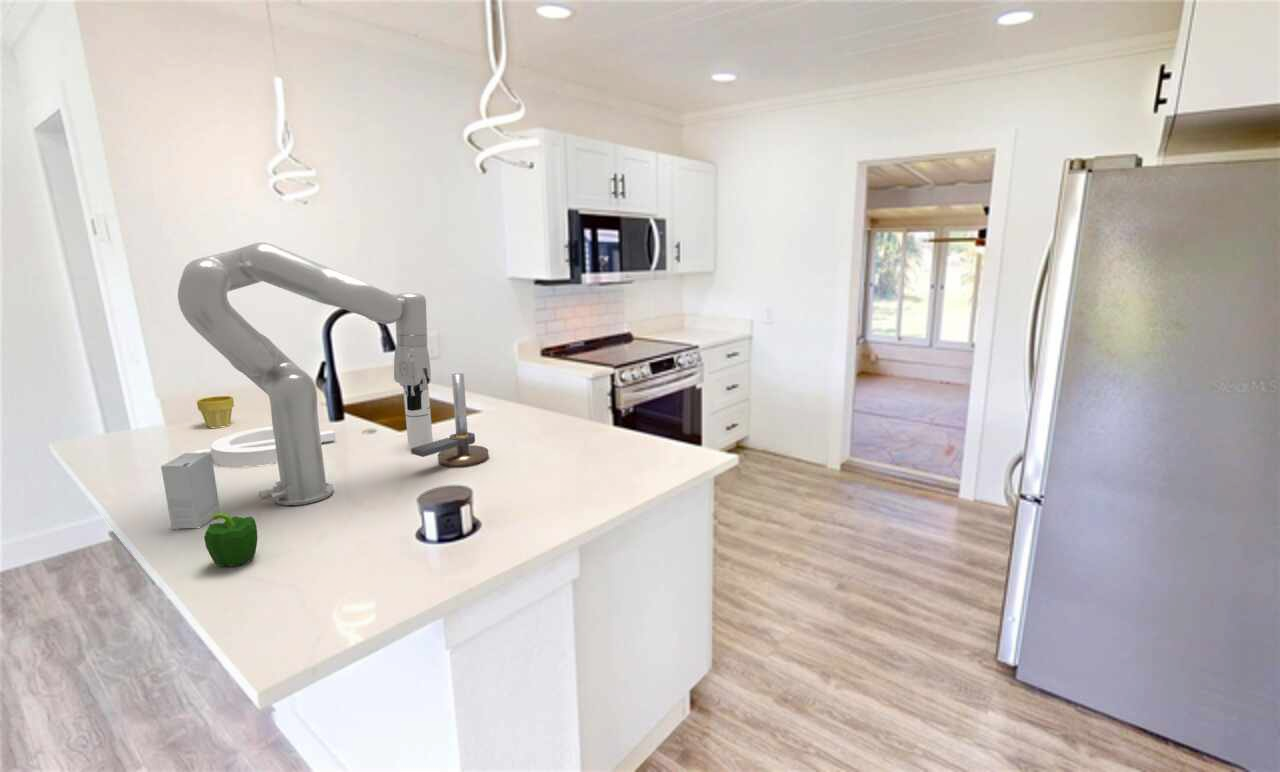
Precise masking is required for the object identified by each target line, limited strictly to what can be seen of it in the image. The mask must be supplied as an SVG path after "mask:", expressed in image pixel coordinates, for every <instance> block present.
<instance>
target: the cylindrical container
mask: <svg viewBox="0 0 1280 772" xmlns="http://www.w3.org/2000/svg"><path fill="white" fill-rule="evenodd" d="M427 385H428V386H429V384H427ZM429 388H430V387H428V390H423V393H422V395H421V409H420V410H415V411H410V410H408V409H407V395H406V394H405V389H404V387H402V389H403V401H404V402H403V404H404V412H405V424H406V435H407V436H406V437H407V445H408V447H407V448H408V450H409V451H411V448H414V447H418V446H421V445H424V444H428V443H431V442H434V439H433V428H432V427H433V426H432V417H431V414H432V413H431V404H430V389H429Z"/></svg>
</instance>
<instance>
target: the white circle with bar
mask: <svg viewBox="0 0 1280 772" xmlns="http://www.w3.org/2000/svg"><path fill="white" fill-rule="evenodd" d="M320 437H321V445H322V443H323V442H324V443H325V442H331V441H336V433H335V431H334V430H327V431H326V430H325V431H320ZM194 453H211V454H212V461H213V463H214V462H215V463H216V464H215V463H214V464H215V465H217V464H219V465H218V466H220V465H223V466H222V467H225V466H229V467H228V468H244V467H243V466H256V467H258V466H257V465H265V464H271V463H277V462H278V460H277V453H276V446H275V438H274V432H273V425H271V426H265V427H258V428H253V429H252V428H251V429H249V430H248V429H247V430H242V431H238V432H234V433H231V434H229V435H225V436H222V437H221V438H218V439H216V440H215V441H213V442H212V443H211V445H210V447H209V448H205V449H204V448H203V449H197V450H196V449H195V451H194ZM277 464H278V463H277ZM271 465H272V464H271ZM265 466H266V465H265Z"/></svg>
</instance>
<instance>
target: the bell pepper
mask: <svg viewBox="0 0 1280 772" xmlns="http://www.w3.org/2000/svg"><path fill="white" fill-rule="evenodd" d="M212 518H213V519H212V520H214V521H217V520H218V519H222V520H223V521H224V522H215V523H210V524H209V526H208V528H207V529H206V531H205V534H204V538H203V539H204V543H205V547H206V550H207V552H208V554H209V556H210V558H211V560H212V561H213V562H214V564H215V565H216V566H218V567H226V566H229V567H238V566H242V565H244V564H247V563H249V562H250V561H251V560H253V558H254V557H255V555H256V551H257V547H258V546H257V545H258V528H257V527H258V526H257V524H256V523H257V522H256V521H255V518H253V516H246V517H238V516H235V515H234V516H230V515H229V514H225V513H219V514H215V515H213V516H212ZM248 561H249V562H248Z"/></svg>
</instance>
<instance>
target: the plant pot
mask: <svg viewBox="0 0 1280 772" xmlns="http://www.w3.org/2000/svg"><path fill="white" fill-rule="evenodd" d="M234 401H235V400H234V397H233V396H232V395H231V396H229V395H217V396H210V397H203V398H200V399H198V400H197V401H196V405H197V410H198V411H200V412H201V415H202V418H203V420H204V422H205V425H206V428H208V427H221V426H225V425H228V424H230V425H231V422H232V421H231V419H232V412H233V411H232V410H233V408H234V406H235V404H234V403H235V402H234ZM221 428H222V427H221Z"/></svg>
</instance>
